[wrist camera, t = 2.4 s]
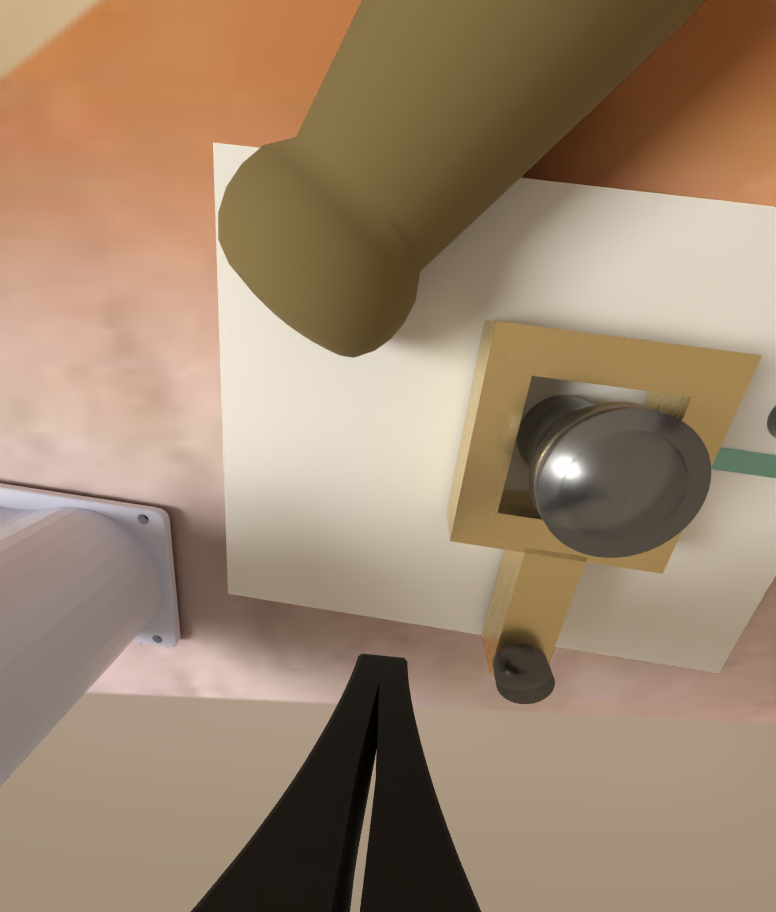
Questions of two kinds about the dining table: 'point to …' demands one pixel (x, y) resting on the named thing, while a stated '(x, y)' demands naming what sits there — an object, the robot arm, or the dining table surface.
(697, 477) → the dark metal domed fitting
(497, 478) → the collar
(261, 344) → the board
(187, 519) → the dining table surface
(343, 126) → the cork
